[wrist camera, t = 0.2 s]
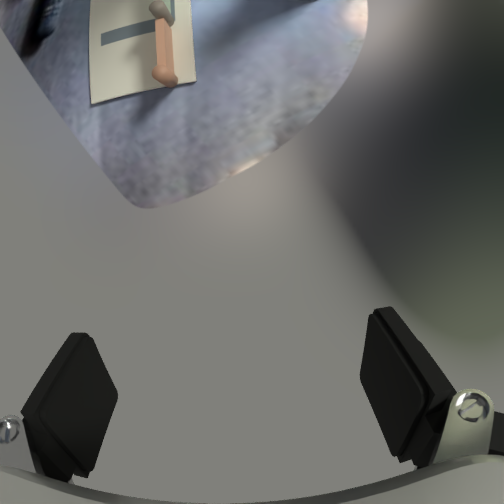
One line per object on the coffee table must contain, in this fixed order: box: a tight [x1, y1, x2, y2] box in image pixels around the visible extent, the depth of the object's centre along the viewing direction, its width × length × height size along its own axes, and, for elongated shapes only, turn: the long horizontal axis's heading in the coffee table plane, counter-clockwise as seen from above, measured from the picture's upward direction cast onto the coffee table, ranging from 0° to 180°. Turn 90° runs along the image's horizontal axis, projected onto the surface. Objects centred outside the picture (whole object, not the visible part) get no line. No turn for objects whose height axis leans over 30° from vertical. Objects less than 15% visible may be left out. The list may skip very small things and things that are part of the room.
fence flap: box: [149, 0, 178, 88], centre depth 27 cm, size 10×2×6 cm, turn 5°
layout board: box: [89, 0, 197, 104], centre depth 28 cm, size 20×14×1 cm
